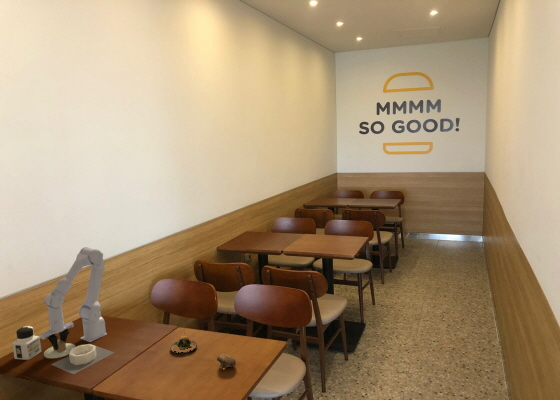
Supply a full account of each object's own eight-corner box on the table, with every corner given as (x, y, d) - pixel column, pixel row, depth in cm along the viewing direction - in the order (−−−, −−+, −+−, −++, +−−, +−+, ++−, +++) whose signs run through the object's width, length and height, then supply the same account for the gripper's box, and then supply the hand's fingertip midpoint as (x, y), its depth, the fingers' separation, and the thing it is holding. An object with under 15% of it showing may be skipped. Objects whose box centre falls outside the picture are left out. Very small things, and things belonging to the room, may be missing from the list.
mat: (92, 345, 202) (92, 344, 202) (114, 353, 193) (114, 352, 193) (51, 365, 185) (51, 364, 185) (73, 375, 177) (73, 374, 177)
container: (29, 360, 190) (25, 332, 188) (14, 359, 191) (10, 331, 189) (41, 351, 197) (38, 324, 195) (27, 350, 199) (23, 323, 197)
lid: (65, 342, 206) (63, 333, 205) (81, 348, 199) (80, 339, 198) (37, 354, 195) (36, 344, 194) (54, 362, 188) (53, 351, 187)
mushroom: (217, 368, 173) (222, 352, 175) (211, 366, 180) (216, 351, 182) (235, 374, 175) (239, 358, 177) (229, 372, 182) (233, 357, 184)
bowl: (86, 350, 196) (85, 342, 195) (100, 356, 191) (99, 347, 190) (66, 360, 188) (65, 352, 187) (80, 366, 182) (79, 358, 182)
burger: (165, 353, 193) (163, 338, 191) (180, 341, 203) (179, 326, 202) (187, 358, 188) (186, 342, 187) (202, 345, 199) (201, 330, 198)
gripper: (66, 311, 202) (69, 338, 205) (35, 323, 190) (38, 352, 192) (75, 314, 199) (78, 342, 201) (44, 327, 187) (47, 356, 189)
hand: (59, 347), depth 196 cm, fingers closed on lid, 3 cm apart
